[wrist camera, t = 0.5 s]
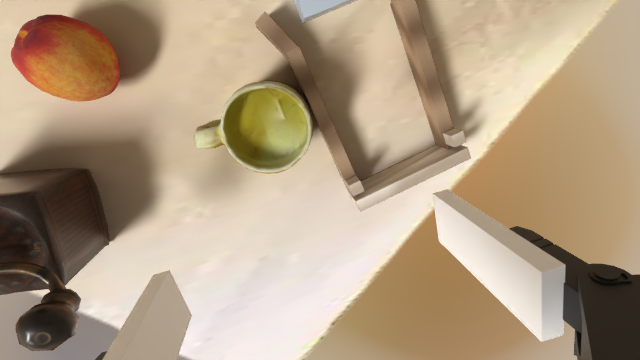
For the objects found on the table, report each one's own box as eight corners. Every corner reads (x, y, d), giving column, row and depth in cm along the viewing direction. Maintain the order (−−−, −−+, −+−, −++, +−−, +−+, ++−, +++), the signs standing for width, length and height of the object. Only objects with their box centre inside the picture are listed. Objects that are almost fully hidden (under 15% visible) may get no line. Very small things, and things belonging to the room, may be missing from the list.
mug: (321, 65, 36) (312, 97, 27) (316, 145, 42) (307, 190, 33) (214, 56, 36) (175, 85, 28) (225, 136, 42) (194, 179, 34)
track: (254, 22, 35) (251, 13, 30) (402, -50, 35) (422, -70, 30) (340, 202, 43) (348, 217, 38) (460, 144, 43) (483, 152, 38)
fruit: (101, 7, 33) (49, -15, 25) (147, 81, 35) (112, 81, 28) (33, 40, 33) (-39, 28, 25) (84, 111, 35) (32, 120, 28)
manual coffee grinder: (24, 256, 39) (-166, 390, 22) (-8, 172, 36) (-260, 255, 19) (154, 244, 41) (70, 358, 24) (136, 162, 38) (23, 229, 21)
